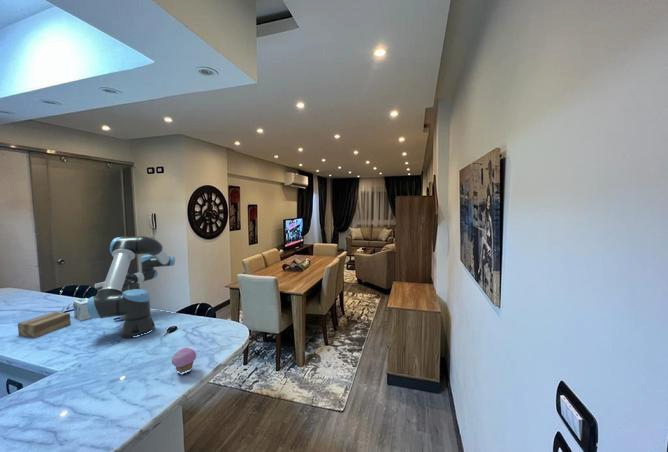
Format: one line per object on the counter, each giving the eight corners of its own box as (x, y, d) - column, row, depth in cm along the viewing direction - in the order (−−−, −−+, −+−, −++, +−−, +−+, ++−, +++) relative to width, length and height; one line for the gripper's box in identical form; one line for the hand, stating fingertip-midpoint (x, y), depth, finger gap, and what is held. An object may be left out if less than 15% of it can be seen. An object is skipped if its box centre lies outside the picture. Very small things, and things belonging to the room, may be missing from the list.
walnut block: (70, 325, 156) (69, 313, 155) (35, 338, 140) (34, 325, 140) (55, 323, 158) (54, 311, 158) (18, 336, 143) (17, 323, 142)
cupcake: (191, 363, 117) (190, 342, 116) (200, 371, 112) (199, 349, 111) (169, 373, 110) (167, 350, 110) (177, 382, 105) (176, 358, 104)
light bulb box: (74, 317, 166) (72, 300, 165) (87, 313, 172) (86, 297, 171) (81, 321, 161) (80, 303, 160) (95, 316, 167) (94, 300, 166)
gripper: (147, 285, 191) (114, 295, 171) (123, 281, 199) (90, 290, 179) (146, 275, 190) (113, 283, 170) (123, 272, 198) (89, 279, 178)
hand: (101, 287), depth 175 cm, fingers open, 13 cm apart
